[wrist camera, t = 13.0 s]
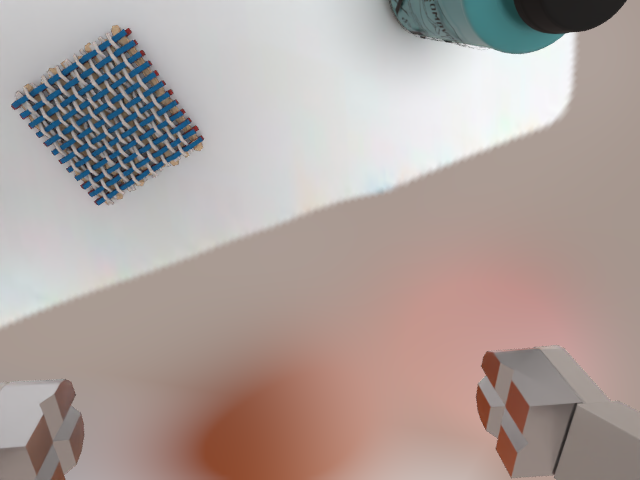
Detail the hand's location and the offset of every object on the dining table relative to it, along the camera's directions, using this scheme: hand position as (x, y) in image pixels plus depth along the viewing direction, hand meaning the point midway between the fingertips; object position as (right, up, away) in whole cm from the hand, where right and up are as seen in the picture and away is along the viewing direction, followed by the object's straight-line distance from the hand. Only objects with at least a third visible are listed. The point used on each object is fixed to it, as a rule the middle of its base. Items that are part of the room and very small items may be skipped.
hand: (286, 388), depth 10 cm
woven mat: (-15, +12, +28) cm, 34 cm away
